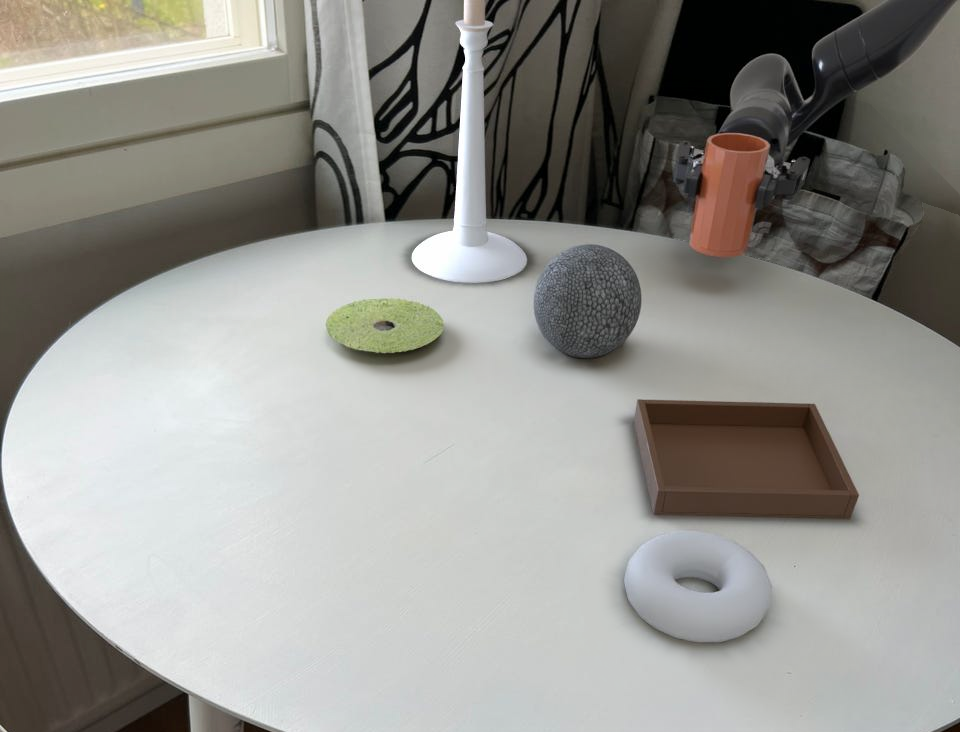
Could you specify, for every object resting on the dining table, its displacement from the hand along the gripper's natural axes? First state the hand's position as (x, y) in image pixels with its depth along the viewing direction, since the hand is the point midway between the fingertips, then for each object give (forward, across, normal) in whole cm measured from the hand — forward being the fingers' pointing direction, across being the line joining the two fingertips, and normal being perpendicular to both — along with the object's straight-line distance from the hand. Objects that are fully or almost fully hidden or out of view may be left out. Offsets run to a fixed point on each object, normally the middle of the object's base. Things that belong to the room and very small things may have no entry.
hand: (726, 193), depth 94 cm
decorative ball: (+17, -9, +11) cm, 22 cm away
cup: (-2, 0, +6) cm, 6 cm away
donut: (+49, +8, +11) cm, 51 cm away
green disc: (+22, -27, +11) cm, 37 cm away
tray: (+32, +8, +11) cm, 34 cm away
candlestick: (+1, -26, +11) cm, 28 cm away
